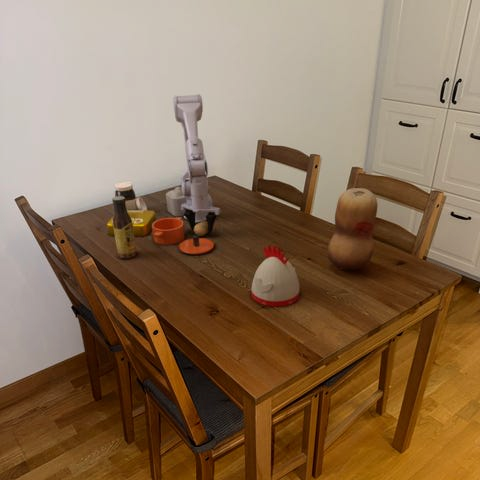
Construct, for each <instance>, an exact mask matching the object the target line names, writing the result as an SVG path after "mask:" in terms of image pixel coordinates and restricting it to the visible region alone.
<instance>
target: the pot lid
mask: <svg viewBox="0 0 480 480" xmlns="http://www.w3.org/2000/svg"><path fill="white" fill-rule="evenodd" d="M214 247H215V245H214V242H213V241H212V240H210V239H208V238H203V237H200V236H198V235H196V234H193V235H192V237H191V238H189V239H184V240H183V241H181V242H180V243H179V244H178V249H179V251H180V252H181V253H184V254H188V255H202V254H206V253H209V252H211V251H212V250H213V249H214Z"/></svg>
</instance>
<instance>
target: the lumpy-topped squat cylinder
mask: <svg viewBox="0 0 480 480" xmlns="http://www.w3.org/2000/svg"><path fill="white" fill-rule="evenodd" d="M165 197H166V199H165V200H166V208H167V210H166V211H167V212H168V213H170V214H171V215H172V216H174V217H182V216H183V217H184V212H185V210H181V205H182V204H183V203H186V204H187V198H186V197H184V196H183V193H182V186H176V187H175V188H174V189H172V190H170V191H167V192H166V193H165Z"/></svg>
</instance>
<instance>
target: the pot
mask: <svg viewBox="0 0 480 480" xmlns="http://www.w3.org/2000/svg"><path fill="white" fill-rule="evenodd" d="M151 231H152V238H153V241H154V243H156V244H159V245H164V246H165V245H166V246H167V245H170V246H171V245H175V244H180V243H182V242H183V241H185V239H186V231H185V222H184V221H183V218H182V217H180V216H175V217H166V218H160V219H156V221H155V222H154V223H153V224H152V229H151Z"/></svg>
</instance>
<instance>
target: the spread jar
mask: <svg viewBox="0 0 480 480" xmlns="http://www.w3.org/2000/svg"><path fill="white" fill-rule="evenodd" d="M133 187H134V186H133V183H132V182H130V181H129V182H128V181H122V182H118V183H115V184H114V189H115V190H114V197H117V196H123V197H125V200H126V202H125V204H126V209H127V210H148V207H147V205H146V202H145V200H144V199H143V198H142V196H138V197H137V196H136V191H135V190H134V188H133Z"/></svg>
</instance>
